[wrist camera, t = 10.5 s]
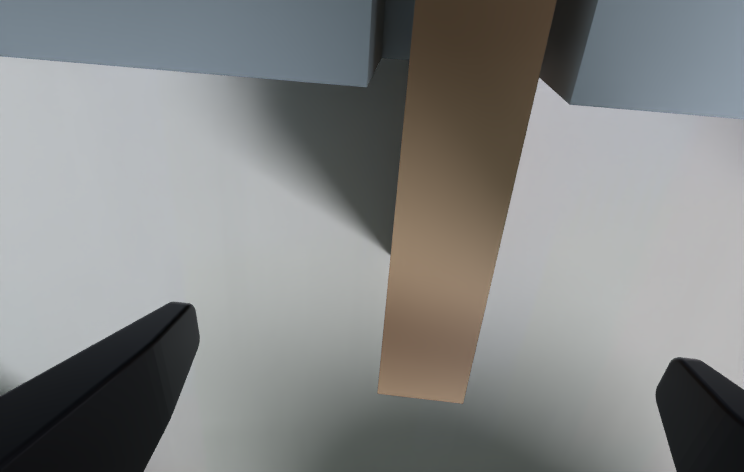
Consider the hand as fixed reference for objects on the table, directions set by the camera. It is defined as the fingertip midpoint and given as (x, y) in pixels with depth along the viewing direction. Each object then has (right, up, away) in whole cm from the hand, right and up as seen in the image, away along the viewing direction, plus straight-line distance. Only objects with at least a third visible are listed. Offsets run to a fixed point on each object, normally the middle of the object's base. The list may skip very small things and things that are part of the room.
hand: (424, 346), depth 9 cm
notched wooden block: (+1, +8, +3) cm, 9 cm away
